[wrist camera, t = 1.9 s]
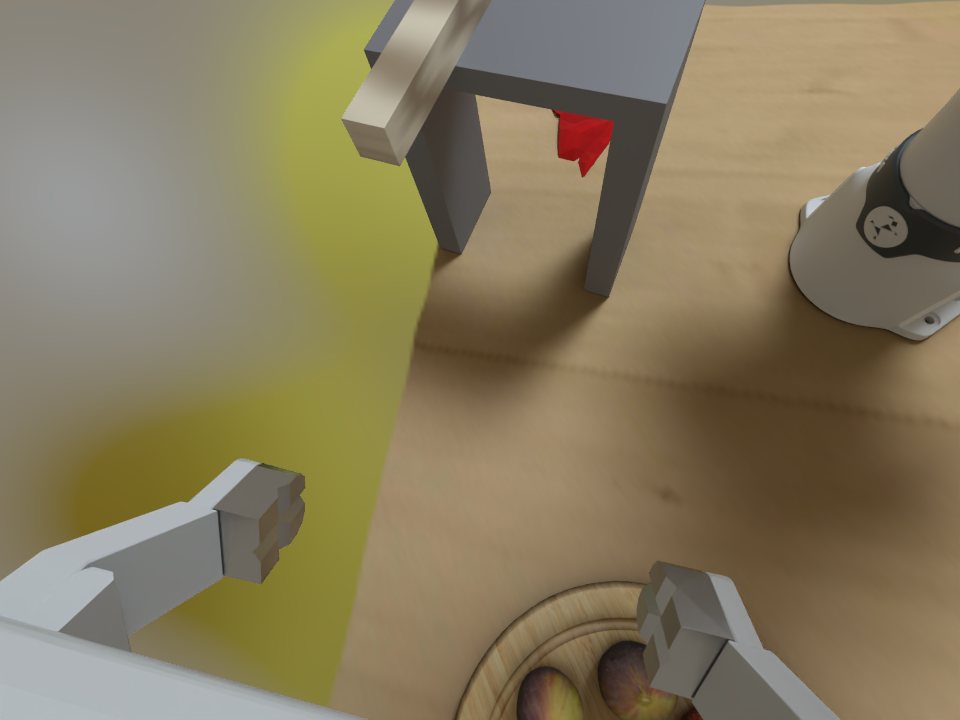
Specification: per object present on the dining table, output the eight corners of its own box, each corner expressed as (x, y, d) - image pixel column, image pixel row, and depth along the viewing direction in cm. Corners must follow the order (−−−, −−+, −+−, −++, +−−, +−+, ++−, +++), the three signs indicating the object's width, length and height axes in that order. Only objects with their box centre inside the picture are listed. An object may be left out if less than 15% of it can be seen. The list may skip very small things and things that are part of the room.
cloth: (625, 185, 57) (628, 172, 55) (519, 181, 60) (518, 169, 58) (636, 40, 65) (639, 24, 63) (542, 42, 68) (542, 26, 65)
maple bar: (495, -75, 35) (491, -126, 33) (531, -72, 35) (529, -124, 32) (360, 156, 29) (341, 118, 26) (399, 166, 29) (384, 128, 26)
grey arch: (470, 186, 60) (420, -40, 35) (633, 227, 54) (707, -6, 30) (440, 247, 57) (363, 49, 33) (608, 297, 52) (666, 104, 27)
